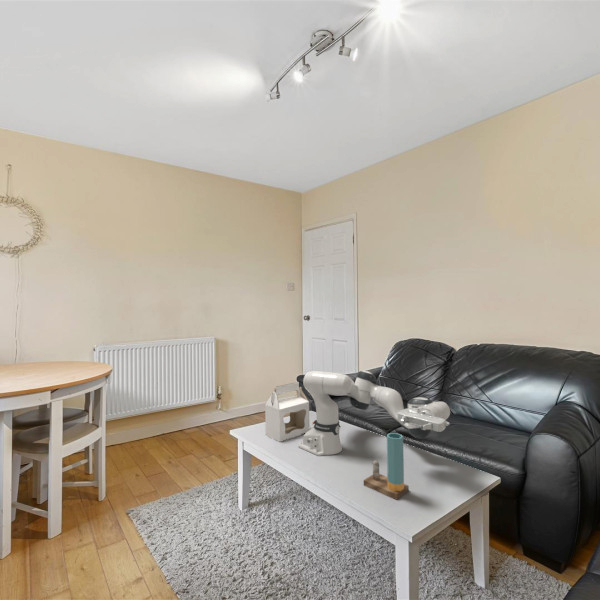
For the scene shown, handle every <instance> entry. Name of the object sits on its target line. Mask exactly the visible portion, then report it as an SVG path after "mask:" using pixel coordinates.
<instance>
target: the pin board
mask: <svg viewBox="0 0 600 600" xmlns="http://www.w3.org/2000/svg"><path fill="white" fill-rule="evenodd" d="M363 486H364V487H367V488H369V489H372V490H373V491H376V492H379V493H380V494H382V495H385V496H387V497H389V498H391V499H394V500H395V501H396V500H398V499H399V498H401V497H402V496H404V495H405V494H406V493H408V492H409V485H408V484H405V483H404V489H403V490H401V491H393V490H391V489H389V488H388V483H387V476H386V475H383V474H381V473H380V463H379V461H378V460H374V461H372V475H370V476H368V477H366V478H365V479H363Z"/></svg>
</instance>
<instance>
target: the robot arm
mask: <svg viewBox="0 0 600 600" xmlns="http://www.w3.org/2000/svg"><path fill="white" fill-rule="evenodd" d="M302 383H303V387H304V388H305V390H306V391H307V392H308V393H309V394H310V395H311V397H312V399H313V402H314V405H315V410H316V419H315V420H314V421H312V423H311V425H313V427H312V428H309V431H308V432H306V433H305V434H303V440H302V441H300V442H299V444H298V448H300V449H301V450H305V451H307V452H309V453H311V454H314V455H316V456H319V457H320V456H325V455H326V456H331V455H332V456H333V455H336V454H340V453H341V452H342V451H343V447H342V443H341V438H340V428H341V427H340V428H339V425H340V420H339V407H338V403H336V402H335V401H334V400H333V399H332V398H331V397H330V396H337V397H338V396H348V398H347V400H349V404H350V405H351V406H352V407H353V408H354V409H355V410H357V411H366V410H368V409H369V406H370V403H371V400H373V402H374V403H375V404H377V405H378V406H380V407H382V408H383V409H385V410H386V411H387V413H388V414H389V416H390V417H391V419H392V420H393V421H394V422H396V423H397V424H398V425H400V426H401V427H402V428H404V430H406V431H407V432H408V433H409V434H410V436H412V437H413V438H415V439H420V440H424V439H426V438H428V437H429V436H430V435H431V433H432V431H434V432H438V433H439V432H440V433H441V432H443V431H445V429H446V427H448V426H450V422H448V421H447V419H448V418H449V417H450V415H451V409H450V407H449V405H448V404H447V402H444V401H432V399H430V398H428V397H425V396H415V397H412V398H411V399H409V400H408V401H407V408H404V402H403V398H402V395H401V394H400V392H399V391H397V390H396V389H393V388H391V387H388V386H387V387H386V386H382V385H378V383H379V381H378V380H377V377H376V376H375V374H373V372H370V371H369V370H360V371H358V373H357V374H356V379H355V381H354V380H353V379H352V378H351V377H350V376H349V375H347V374H344V373H341V372H333V371H332V372H331V371H322V370H321V371H320V370H312V371H311V370H310V371H307V372H306V373H305V375H304V376H303V380H302Z"/></svg>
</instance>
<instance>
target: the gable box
mask: <svg viewBox="0 0 600 600" xmlns="http://www.w3.org/2000/svg"><path fill="white" fill-rule="evenodd" d="M273 390H274V391H273V392H272V393H271V395H270V397H269V398H268V399H267V402H265V405H264V408H265V413H264V414H265V415H264V416H265V417H264V418H265V422H264V423H265V436H266V435H267V436H266V437H268V436H269V437H268V438H270V437H271V439H272V438H273V440H275V441H277V442H279V443H281V442H284V441H287V440H290V439H292V437H293V438H296V437H298V435H299V436H302V435H305V434H304V433H306V432H308V431H309V430H310V400H309V399H308V397H307V396H306V394H305V393H304V390H303V388H302V386H300V385H299V382H298V381H297V382H292V383H288V384H282V385H278V386H275V387H274V388H273ZM290 392H291V393H292V392H295V394H294V397H290V398H286V399H282V400H281V399H280V400H279V398H278V395H282V394H285V393H286V394H287V393H290ZM287 414H289V422H285V421H284V417H285V416H286V415H287ZM301 434H302V435H301ZM295 436H296V437H295ZM289 438H290V439H289ZM286 439H287V440H286ZM283 440H284V441H283Z"/></svg>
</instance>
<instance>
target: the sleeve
mask: <svg viewBox="0 0 600 600" xmlns="http://www.w3.org/2000/svg"><path fill="white" fill-rule="evenodd" d="M404 464H405V463H404V436H403V435H402V434H400V433H397V432H390V433H387V434H386V468H387V469H386V470H387V472H386V474H387V476H386V477H387V483H388V488H389V489H391V490H393V491H401V490H403V489H404V484H405V473H404V472H405V471H404V470H405V469H404Z"/></svg>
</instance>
